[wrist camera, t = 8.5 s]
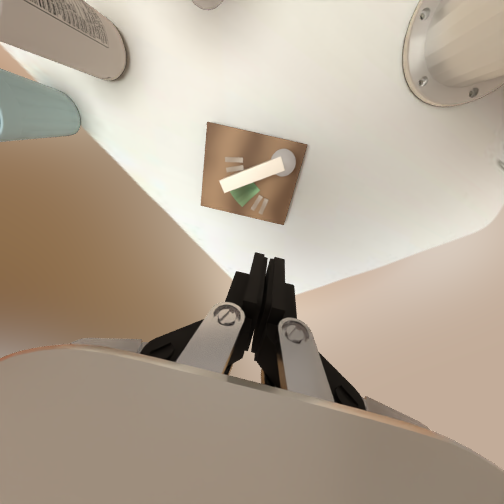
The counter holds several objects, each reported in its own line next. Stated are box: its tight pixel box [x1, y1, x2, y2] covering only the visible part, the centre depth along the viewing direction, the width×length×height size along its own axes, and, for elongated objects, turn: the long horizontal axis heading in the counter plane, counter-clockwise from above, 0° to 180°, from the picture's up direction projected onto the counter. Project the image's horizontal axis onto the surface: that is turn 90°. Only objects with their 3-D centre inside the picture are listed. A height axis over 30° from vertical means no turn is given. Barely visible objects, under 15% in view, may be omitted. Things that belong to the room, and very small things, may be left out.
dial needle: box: [219, 149, 296, 193], centre depth 26 cm, size 10×3×4 cm, turn 111°
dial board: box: [201, 122, 307, 225], centre depth 29 cm, size 13×11×2 cm
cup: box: [0, 69, 80, 142], centre depth 25 cm, size 8×8×10 cm
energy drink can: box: [0, 0, 126, 81], centre depth 19 cm, size 6×6×15 cm
